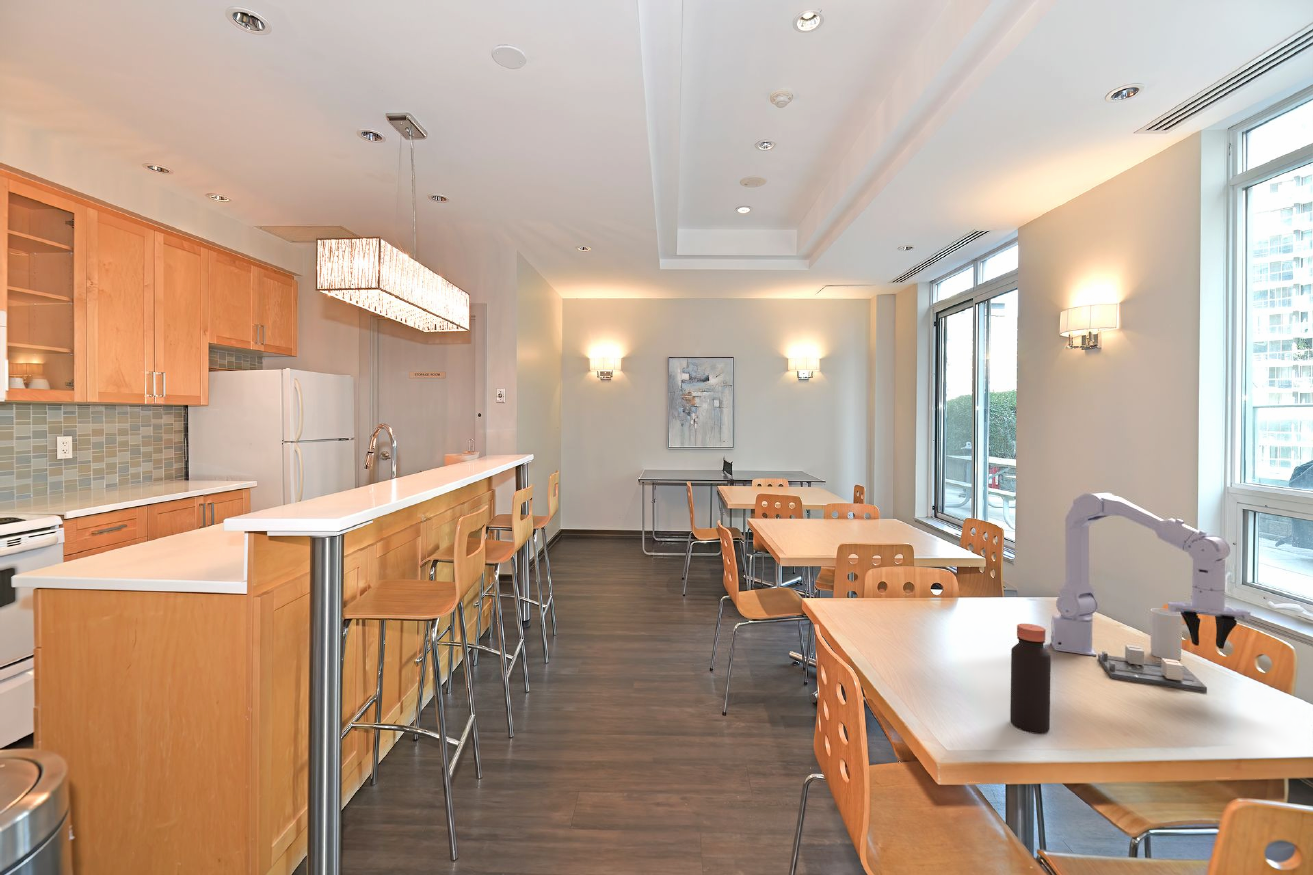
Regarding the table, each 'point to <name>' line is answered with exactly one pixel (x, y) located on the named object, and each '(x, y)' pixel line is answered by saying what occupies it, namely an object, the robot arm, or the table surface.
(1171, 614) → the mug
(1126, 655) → the fader far
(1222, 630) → the robot arm
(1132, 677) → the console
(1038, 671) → the bottle
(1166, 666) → the fader near
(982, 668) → the table surface
